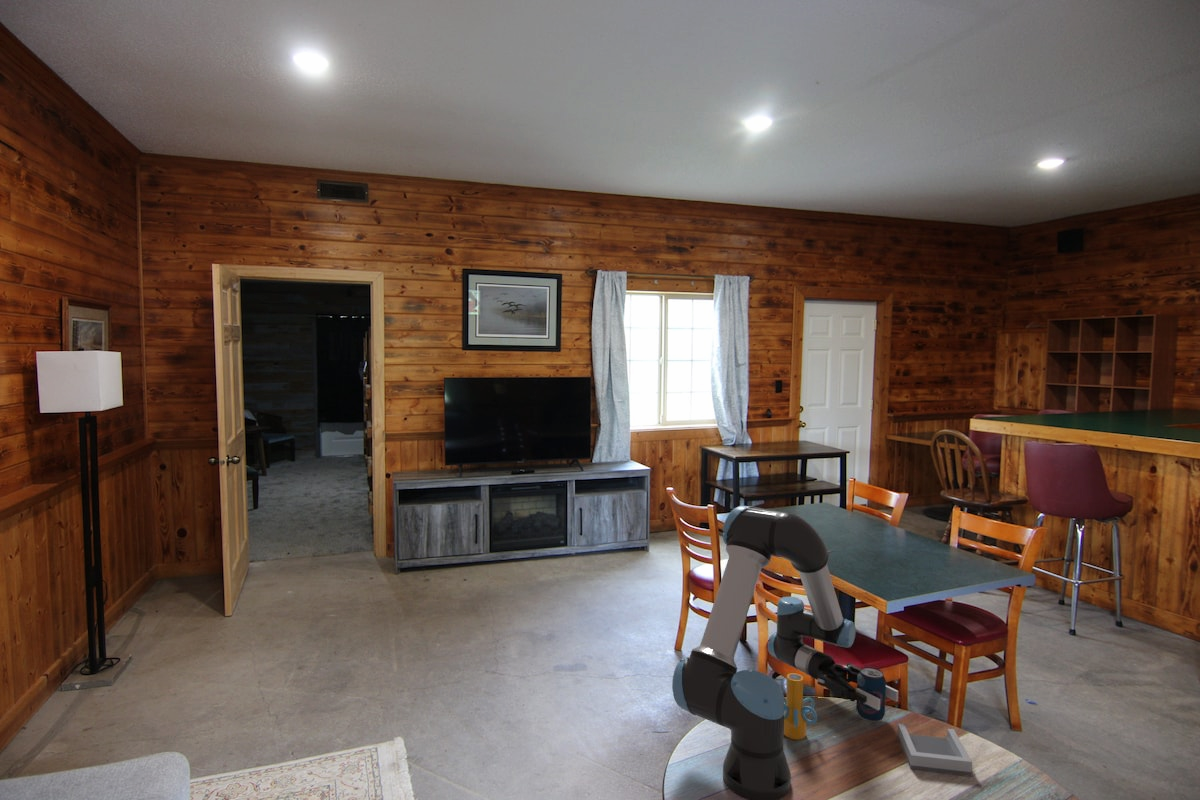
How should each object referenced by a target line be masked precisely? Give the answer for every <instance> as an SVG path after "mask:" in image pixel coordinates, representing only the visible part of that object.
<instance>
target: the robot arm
mask: <svg viewBox="0 0 1200 800" xmlns="http://www.w3.org/2000/svg"><path fill="white" fill-rule="evenodd" d="M722 531H723V533H722V540H723V543H724V544H725V545H726V546H725V552H726V553H727V555H728V559H727V562H726V564H725V568H724V570H723V571H724V572H723V574H722V578H721V581H720V584H719V586H718V589H717V593H716V596H715V598H714V603H713V604H712V607H711V610H710V614H709V616H708V620H707V623H706V626H705V629H704V632H703V634H702V635H703V636H702V638H701V642H700V644H699V645H698V646H697V647H695V648H692V649H691V652H690V655H689V657H688V656H686V657H682V658H681V659H680V660H679V662H677V665H676V666H675V668H674V671H673V676H672V684H671V685H672V689H671V691H672V695H673V699H674V701H675V703H676V705H677V706H678V707H679V708H680V709H682V710H684V711H686V712H688V713H690V714H691V715H693V716H697V717H700V718H702V719H704V720H706V721H709V722H712V723H715V724H716V725H719V726H722V727H724V728H726V729H728V730H729V731H730V745H729V747H728V748H727V749H728V750H727V753H726V755H725V758H724V761H723V765H722V777H723V781H724V783H725V784H726V786H727V787H728V788H729V790H731V791H732V792H733V793H735V794H737V795H738V796H740V797H742V798H745V799H748V800H779V799H781V798H783V797H784V796H786V795H787V794H788V793H789V791H790V789H791V785H792V783H791V782H792V776H791V770H790V767H789V764H788V759H787V758H786V755H785V750H784V736H785V735H784V712H785V705H784V704H785V702H784V697H785V694H784V690H783V688H782V686H781V685H780V684H779V683H778V682H777V681H776V680H775V678H773V677H771V676H769V675H768V674H766V673H764V672H761V671H757V670H749V669H741V670H739V671H738V666H737V664H736V662H735V655H736V652H737V649H738V646H739V642H740V638H741V635H742V633H743V629H744V626H745V623H746V619H747V617H748V612H749V610H750V606H751V603H752V600H753V596H754V594H755V590H756V586H757V583H758V581H759V577H760V573H761V570H762V569H763V568H764V567H766V566H768V565H770V562H771V559H772V557H777V558H782V559H785V560H787V561H789V562H790V563H791V566H792V567H793V568H794V569H795V571H797V572H798V574H799V577H800V579H801V584H802V586H803V589H804V592H805V594H806V598H807V601H808V603H809V607H810V609H808V608H805V603H804V601H803V600H802V599H800V598H799V597H795V596H783V597H781V598H779V599H778V601H777V611H776V632H774V633H773V634H771V635H770V637H769V641H768V642H767V650H768V653H769V654H770V655H771V656H772V657H773V658H776V659H777V660H778V661H780V663H785V664H787V665H788V666H790V667H792V668H794V669H796V670H798V671H800V672H802V673H804V674H805V675H807V676H809V677H811V678H813V679H814V680H816V681H817V682H816V683H817V685H819V686H821V687H824V688H826V689H827V690H829V691H831V692H832V693H834V694H835V695H837V696H838V697H840V698H842V699H843V700H849V701H850V702H856V701H857V700H859V701H861V702H863V703H865V704H867V705H869V706H871V707H873V708H875V709H876V710H880V699H879V698H877V697H875V696H873V695H871V694H869V693H867V692H865V691H863V690H861V689H859V688H857V687H856V688H855V687H854V686H852V684H850V683H854V684H857V676H858V674H859V672H860V669H861V667H858V666H855V665H854V664H852V663H851V662H846V665H844V666H843V665H842V664H839V663H836V662H835V660H834V659H833V657H832V656H831V655H829V654H827V653H824V652H822V651H820V650H818V649H817V648H814V647H812V646H810V645H807V644H805V642H803V638H804V637H807V638H811V639H813V640H817V641H821V642H824V643H827V644H830V645H834V646H836V647H838V646H839V647H842V648H851V647H852V645H853V644H854V642H855V638H856V625H855V623H854V622H853V621H852V620H848V619H847V618H844V617H843V613H842V611H841V607H840V603H839V600H838V597H837V593H836V590H835V587H834V584H833V580H832V577H831V574H830V570H829V567H828V563H829V561H830V559H829V552H828V549H827V545H826V544H825V542H824V541H823V539H822V538H821V536H820V535H819V533H818V532H817V530H816V529H815V528H814V527H813V526H812V525H811V524H810V523H808V521H806V520H805V519H804V518H802V517H801V516H798V515H797V514H794V513H791V512H787V511H786V512H785V511H779V510H773V509H770V508H769V509H768V508H762V507H757V506H755V505H750V506H749V505H748V506H747V505H738V506H737V507H734V508H733V509H732V510H731V511H730V512H729V513H728V515H727V517H726V519H725V521H724V524H723V528H722ZM849 698H850V699H849ZM885 698H888V699H890V700H891V701H894V702H896V703H897V702H899V690H897V689H896V688H893V687H891V686H889V685H887V684H886V694H885ZM855 699H856V700H855Z"/></svg>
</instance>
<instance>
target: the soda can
mask: <svg viewBox="0 0 1200 800" xmlns="http://www.w3.org/2000/svg"><path fill="white" fill-rule="evenodd" d="M884 675H885V674H884V672H883V670H881V669H879V668H877V667H873V666H863V667H860V672H859V674H858V676H857V683H856V689H857V688H859V689H861V690H863V691H865V692H867V693H869V694H871V695H873V696H875V697H877V698H879V699H880V710H876V709H875V708H873V707H871V706H869V705H867V704H865V703H863V702H861V701H859V700H857V699H856V702H855V705H856V707H855V709H856V712H857V713H858V715H859V716H860V718H862V719H863V720H865V721H868V722H871V723H877V722H881V720H882V719H883V718H884V717H885V715H886V696H885V694H886V685H887V679H886V677H885V676H884Z"/></svg>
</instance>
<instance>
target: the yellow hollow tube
mask: <svg viewBox="0 0 1200 800" xmlns="http://www.w3.org/2000/svg"><path fill="white" fill-rule="evenodd" d="M807 702H810V703H811V705H810V706H809V705H805V704H806V703H807ZM784 705H785V712H784V736H785V737H786V738H788V739H791V740H802V739H804V738H805V737H806V736H807V724H809V725H810V724H812V725H813V724H815V723H817V720H818V715H817V712H816V710H815V700H814V699H813V698H811V697H808V696H807V697H806V698H804V676H802V675H801V674H800V673H795V672H791V673H788V674H787V675H786V696H784ZM811 713H812V714H813V719H812V720H811V719H808V718H807V716H806V715H807V714H808V715H809V714H811Z"/></svg>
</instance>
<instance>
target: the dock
mask: <svg viewBox="0 0 1200 800" xmlns="http://www.w3.org/2000/svg"><path fill="white" fill-rule="evenodd" d="M897 739H898V742H899V744H900V746H901V749H902V751H903V754H904V757H905V758H906V761H907V763H908V766H909V769H910V770H913V771H923V772H932V773H937V774H938V773H939V774H948V775H955V776H964V775H966V777H972V773H973V772H972V771H973V761H972V759H971V757H970V755H969V753H968V751H967V750H966V749H965V746H964V745H963V743H962V742H961V740H960V738H959V736H958V734H957V732H956V731H955V729H954V728H947V729H946V737H940V736H933V735H932V736H931V735H923V734H922V735H921V734H913V733H909V731H908V729H907V727H906V725H905V723H897Z"/></svg>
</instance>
